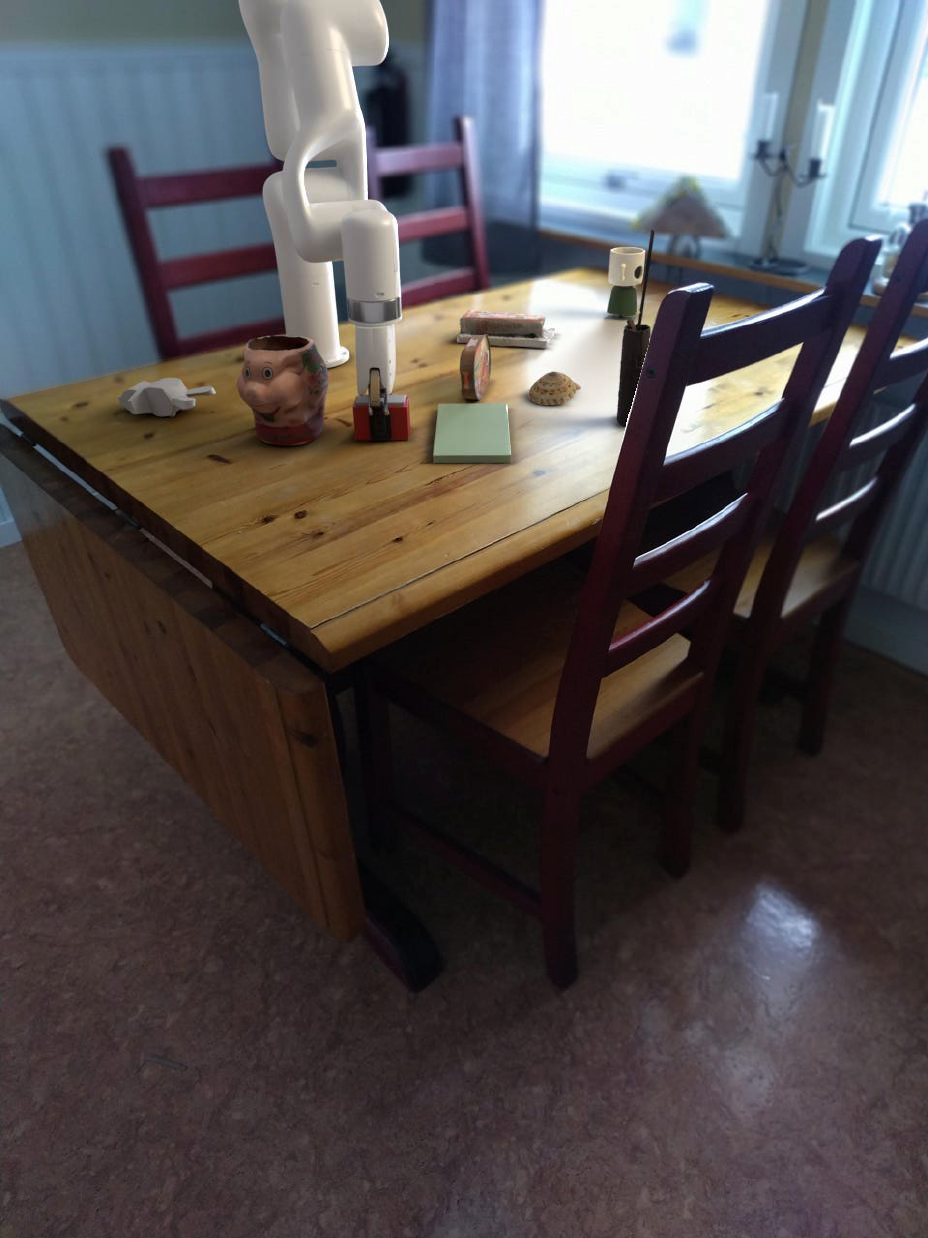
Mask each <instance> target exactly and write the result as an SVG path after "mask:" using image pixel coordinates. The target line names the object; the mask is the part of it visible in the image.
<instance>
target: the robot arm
mask: <svg viewBox="0 0 928 1238" xmlns="http://www.w3.org/2000/svg"><path fill="white" fill-rule="evenodd" d="M238 7H239V12H240V16H241V18H242V23H243V24H244V27H245V30H246V33H247V35H248V37H249V40H250V42H251V45H252V48H253V51H254V53H255V57H256V60H257V64H258V65H257V66H258V72H259V74H258V75H259V85H260V93H261V103H262V104H261V105H262V113H263V123H264V130H265V137H266V142H267V146H268V148H269V151H270V153H271V154H272V156H273V157H274V158H275V159H277V160H279V161H282V162H283V167H282V170H281V171H277V172H274V173H272V174H271V175H269V176H268V178H266V180H265V181H264V183H263V186H262V200H263V205H264V209H265V213H266V217H267V220H268V224H269V229H270V232H271V237H272V241H273V246H274V252H275V258H276V266H277V273H278V282H279V289H280V296H281V297H280V298H281V305H282V312H283V320H284V328H285V335H291V336H302V337H307V338H310V339H312V340H313V341H314V343H315V345H316V348H317V350H318V352H319V354H320V356H321V357H322V359H323V360H324V362H325V365H326V367H327V369H331V368H336V367H337V366H338V367H339V366H340V365H343V364H345V363H347V361H349V359H350V352H349V349H348V348H346V347H345V346H342V345H341V344H340V343H341V342H340V333H339V323H338V311H337V301H336V289H335V277H334V269H333V262H343V270H344V271H343V272H344V283H345V294H346V308H347V318H348V319H347V320H348V322H349V323H350V324H351V325H355V330H354V331H355V334H354V337H355V340H354V341H355V366H356V387H357V388H356V389H357V390H356V391H357V395H360V396H363V395H368V397H369V426H370V438H371V440H370V441H392V440H391V439H392V426H391V413H389V408H388V395H393V390H394V389H393V388H394V385H395V379H396V369H397V368H396V367H397V356H396V355H397V353H396V350H397V349H396V331H395V330H396V329H395V325H396V324H398V323H399V322H401V321H402V320H403V311H402V289H401V270H400V269H401V268H400V248H399V230H398V222H397V221H398V220H397V219H396V216H395V215H394V214H393V213H391V212H390V211H388V210H387V208H386V206H385V205H384V204H383V203H382V202H381V201H379V200H376V199H369V198H368V167H367V165H368V164H367V163H368V162H367V140H366V139H367V137H366V125H365V120H364V116H363V112H362V110H361V106H360V105H361V104H360V102H359V97H358V91H357V86H356V81H355V77H354V72H353V67H372V66H378V65H380V64H382V63H383V61H384V60H385V59H386V57H387V53H388V51H389V50H388V49H389V27H388V22H387V17H386V14H385V10H384V9H383V5H382V3H381V0H238ZM319 161H320V162H322V161H335V162H336V166H328V167H315V168H314V167H308V168H306V167H307V165H308V163H309V162H319ZM380 398H384V403H383V401H381V399H380Z"/></svg>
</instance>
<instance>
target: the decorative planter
mask: <svg viewBox="0 0 928 1238" xmlns="http://www.w3.org/2000/svg"><path fill="white" fill-rule="evenodd" d="M242 356H243V367H242V369H241V371H240V373H239V374H238V376H237V380H236V388H237V389H236V390H237V392H238V394H239V397H240V398H241V400H242V401H243V402H244V403H245V404H246V405H247V406H248V407H249V408H250V409H251V412H252V414H253V419H254V425H255V427H254V428H255V434H256V437H257V438H258V439H259V440H260V441H262V442H264V443H267V444H272V445H278V446H279V445H280V446H297V445H303V444H307V443H309V442H312V441H313V440H315V439H317V438H318V437H319V436H320V435H321V433H322V431H323V428H324V422H325V412H326V411H325V407H326V399H327V394H328V389H329V381H330V379H329V377H330V376H329V371H328V368H327V367H326V365H325V362H324V360H323V359H322V357H321V356H320V354H319V352H318V350H317V348H316V345H315V343H314V341H313V340H312V339H310V338H307V337H302V336H291V335H286V334H277V335H266V336H261V337H256V338H250V339H249V340H248V342H247V343H246V344H245V346H244V348H242Z"/></svg>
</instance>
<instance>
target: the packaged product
mask: <svg viewBox="0 0 928 1238" xmlns="http://www.w3.org/2000/svg"><path fill="white" fill-rule="evenodd" d="M545 322H546V316H543V315H536V314H527V313H526V314H524V313H515V312H513V313H512V312H499V311H498V312H497V311H488V310H487V311H484V310H467V311H466V312H465V313H464V314H463V315H462V317H461V318H460V319H459V326H460V329H459V333H457V336H456V342H457V343H462V344H467V343H468V341H469V339H470V338H471V337H472V336H474V335H485V334H487V335H488V337H489V341H490V346H495V347H524V348H533V349H534V348H535V349H547V347H548V345H549V344H550V342H551V341H552V339H553V337H554V336H555V335H554V334H555V330H556V328H555V327H554V328H553V327H550V328H546V327H544V326H545Z"/></svg>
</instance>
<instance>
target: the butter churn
mask: <svg viewBox="0 0 928 1238" xmlns="http://www.w3.org/2000/svg"><path fill="white" fill-rule="evenodd" d="M654 239H655V230H654V229H651V230H650V234H649V241H648V249H647V254H646V255H647V256H646V263H645V269H644V270H645V271H644V278H643V286H642V291H641V298H640V303H639V309H638V311H639V313H638V318H637V323H635V319H633V318H628V319H627V320H626V323H627V324H625V325H624V326H623V331H622V339H621V351H620V352H621V354H620V362H619V363H620V365H619V366H620V367H619V383H618V385H619V386H618V391H617V406H616V407H617V409H616V423H617V425H619V426H621V427H624V428H626V427H625V426H626V422H627V418H628V414H629V412H630V409H631V406H632V402H633V398H634V395H635V391H636V388H637V384H638V381H639V377H640V373H641V370H642V365H643V362H644V358H645V354H646V352H647V348H648V345H649V338H650V335H651V336H652V334H651V329H652V328H651V326H650V325H648V324H644V323H643V324H642V320H643V319H642V318H643V313H644V305H645V299H646V292H647V285H648V280H649V272H650V267H651V259H652V252H653V247H654Z"/></svg>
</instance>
